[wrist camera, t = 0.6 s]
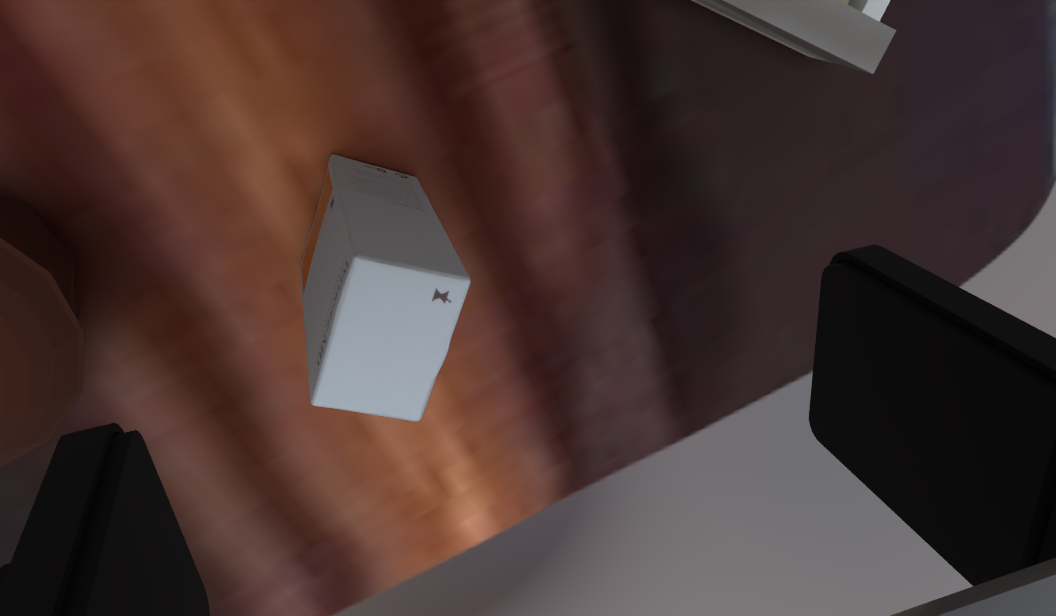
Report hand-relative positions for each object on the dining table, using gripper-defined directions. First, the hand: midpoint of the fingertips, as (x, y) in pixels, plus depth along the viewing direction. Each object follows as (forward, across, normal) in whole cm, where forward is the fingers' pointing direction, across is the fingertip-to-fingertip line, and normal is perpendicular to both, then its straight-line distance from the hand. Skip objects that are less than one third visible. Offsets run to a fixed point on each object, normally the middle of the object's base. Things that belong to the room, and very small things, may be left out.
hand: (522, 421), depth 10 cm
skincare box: (+27, +1, +7) cm, 28 cm away
